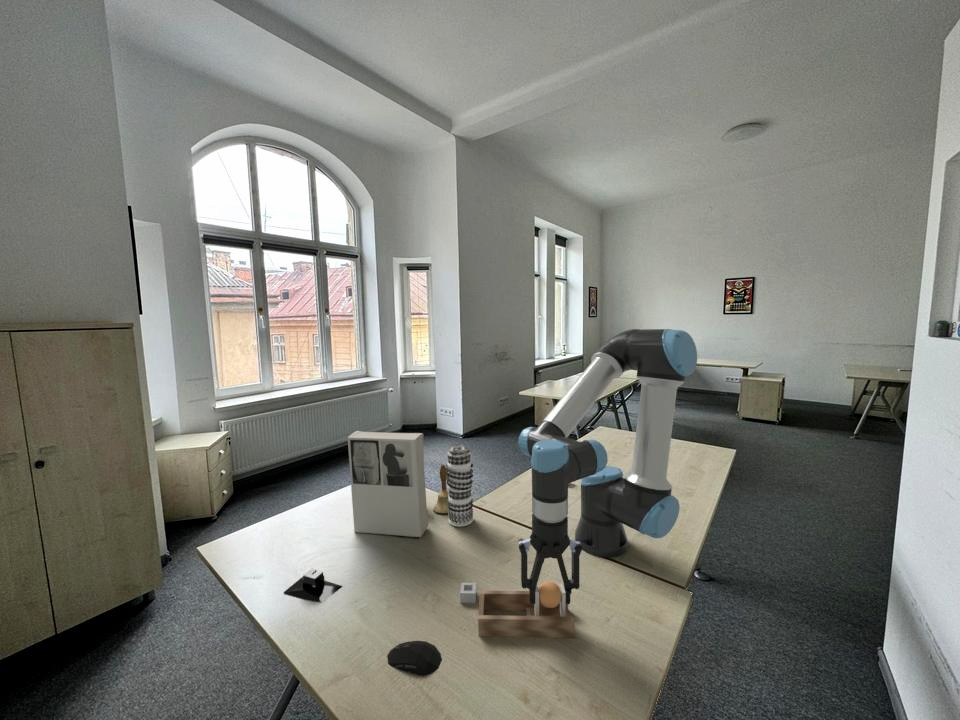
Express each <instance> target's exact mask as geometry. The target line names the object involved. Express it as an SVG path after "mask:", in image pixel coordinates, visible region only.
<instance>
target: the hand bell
mask: <svg viewBox="0 0 960 720" xmlns="http://www.w3.org/2000/svg"><path fill="white" fill-rule="evenodd" d="M446 476H447V474H446V464H441V465H440V470H439V479H440V481H441V491H439V493H438V494H437V501H436V503H435V504H434V505H433V511H434V512H435V513H439V514H448V499H449V496H448V495H449V490H448V488H447V479H446V478H447V477H446Z"/></svg>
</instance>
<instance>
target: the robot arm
mask: <svg viewBox="0 0 960 720" xmlns="http://www.w3.org/2000/svg"><path fill="white" fill-rule="evenodd" d="M590 360H591V361H590V362H591V363H589V365H588V366H587V368H585V369H584V371H583V372H582V373H581V374H580V375H579V377H578V378H577V379H576V380H575V382H574V383H573V384H572V385H571V386H570V387H569V389H567V391H566V392H565V393H564V395H562V397H561V398H560V399H559V400H558V402H557V403H556V404H555V405H554V407H553V408H552V409H551V410H550V411H549V412H548V414H547V415H546V416H545V417H544V418H543V419H542V421H541V422H540V423H539V424H538V425H537V427H536V426H529V427H526V428H524V429H522V431H521V432H520V434H519V436H518V442H517V443H518V448H519V450H520V451H521V453H522V454H523V455H525V456H527V457H529V458H531V460H530V466H531V506H532V507H531V512H532V515H531V534H530V536H529V538H527V539H524V538H519V539H518V549H519V552H520V583H521V584H520V585H521V588H522V589H528V591H529V598H530V603H531V604H534V612H535V616H539V584H538V582H539V579H540V576H541V571H542V569H543V568H542V567H543V564H544V562H545V560H546V559H550V558H551V559H556V561H557V564H558V568H559V571H560V575H561V578H562V583H559V588H560V591H561V601H560V614H561V617H565V614H566V604H568V605H570V604H571V594H572V591H573V589H574V590H579V588H580V556H581V553H582V551H583V552H585V553H587V554H589V555H591V556H595V557H599V558H606V559H608V558H610V559H611V558H617V557H621V556H623V555H625V554H626V553H627V551H628V549H629V547H628V546H629V544H628V543H629V542H628V536H627V533H626V531H625V528H624V525H625V526H627V527H629V528H630V529H632V530H635V531H636V532H639V533H640V534H642V535H646V536H648V537H651V538H653V539H661V538H664V537H666V536H667V535H668V534H669V533H670V532H671V531H672V529H673V527H674V526H675V524H676V522H677V520H678V518H679V517H678V516H679V514H680V501H679V500H678V498H677V497H676V496H675V495H672V490H673V485H672V484H671V483H670V481H668V479H667V476H668V470H669V469H668V468H669V461H670V460H669V458H670V451H671V441H672V433H673V425H674V424H673V423H674V417H675V409H676V401H677V393H678V392H677V391H678V388H679V387H680V386H682V385H683V384H684V383H685V380H686V377H688V376H691V375H692V374H693V373H695V369H696V368H697V363H698V350H697V347H696V344H695V341H694V339H693V337H692V336H691V334H690V333H688V332H687V331H684V330H681V329H670V328H664V329H663V328H662V329H658V328H657V329H656V328H655V329H653V328H652V329H651V328H649V329H647V328H646V329H639V328H638V329H637V328H636V329H635V328H633V329H628V330H624V331H621V332H619V333H618V334H616V335H614V336H613V337H611V338H610V339H608V340H607V341H606V342H604V343H603V344H602V345H601V346H600V347H599V348H598V349H597V350H595V352H594V353H593V355H591V358H590ZM628 371H636V379H637V380H638V381H639V382H640V383H641V386H640V387H641V388H640V394H639V404H638V412H637V413H638V414H637V420H636V428H635V429H636V430H635V438H634V447H633V455H632V464H631V471H630V472H629V473H627V474H625V475H624V473H623V470H622V469H621V468H619V467H616V466H612V465H607V464H608V459H609V458H608V453H607V450H606V448H605V446H604V445H603V444H602V443H601V442H600V441H598V440H596V439H585V440H581V441H580V440H579V441H578V440H575V439H572V438H568V437H569V436H570V434H572V432H573V431H574V429H576V427H577V426H578V425H579V423H580V422H581V421H582V419H584V417H585V416H586V414H587V413H588V412H589V411H590V409H592V407H593V406H594V405H595V403H596V402H597V400H598V399H599V398H600V396H601V395H602V394H603V393H604V392H605V390H606V389H607V388H608V386H609V385H611V383H612V381H614V380H615V379H619V378H621V377H622V375H623V373H625V372H628ZM579 480H581V481H580V514H581V515H580V516H579V517H580V518H579V520H578V522H577V525H576V529H575V533H574V539H571V538H570V536H569V535H568V533H569V531H568V530H569V529H568V528H569V517H568V516H569V498H568V497H569V484H570V483H574V482H577V481H579ZM531 546H532V548H533V549H534V550H535V552H536V553H535V558H534V561H533V565H532V569H531V573H530V577H529V578H528V552H529V551H530V547H531ZM568 547H569V548H570V551H571V578H570V579H569V577H568V573H567V569H566V565H565V561H564V558H563V554H564V552H566V550H567V549H568Z"/></svg>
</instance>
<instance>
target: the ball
mask: <svg viewBox="0 0 960 720" xmlns="http://www.w3.org/2000/svg"><path fill="white" fill-rule="evenodd" d="M538 589H539V600H540V602H541V603H542V604H543V605H544V606H545V607H547V608H554V607H556V606H558V604H559V603H560V601H561V591H560V586H559V585H558V584H557V583H555V582H553V581H550V580H547V581H544V582H542V583H541V584H540V586H538Z"/></svg>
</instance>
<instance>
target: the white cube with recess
mask: <svg viewBox="0 0 960 720" xmlns="http://www.w3.org/2000/svg"><path fill="white" fill-rule="evenodd" d="M459 591H460V592H459V599H460V600H459V603H460V604H476V603H477V602H476V601H477V600H476V599H477V583H476V582H461V583H460V590H459Z"/></svg>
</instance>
